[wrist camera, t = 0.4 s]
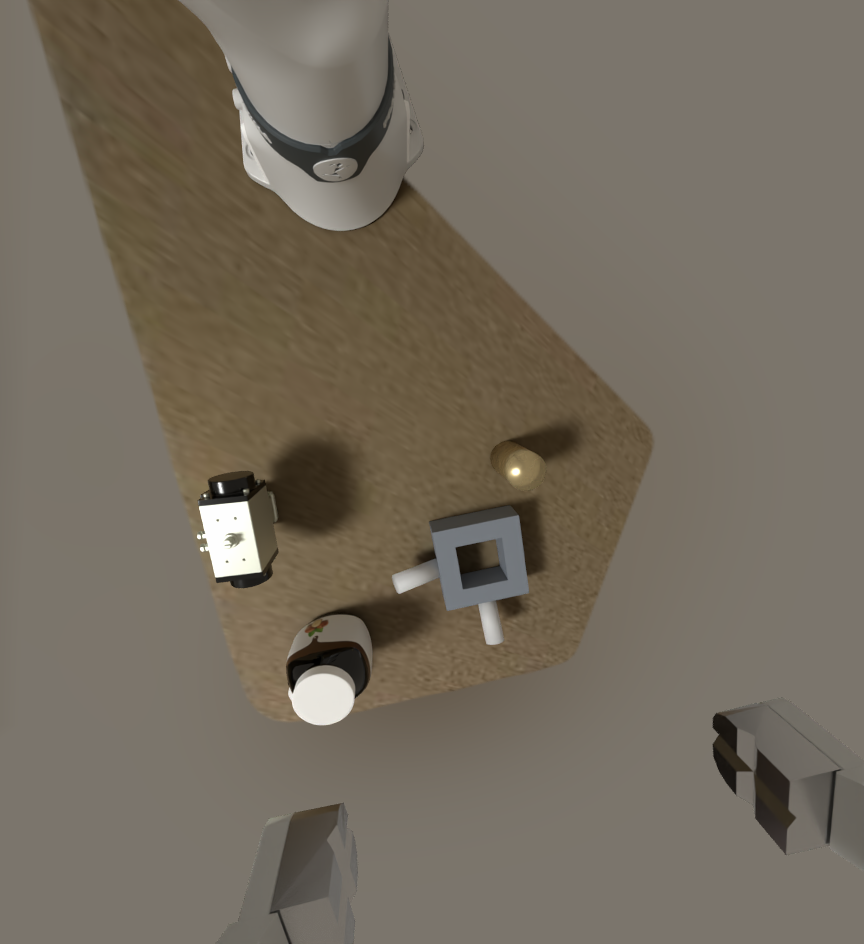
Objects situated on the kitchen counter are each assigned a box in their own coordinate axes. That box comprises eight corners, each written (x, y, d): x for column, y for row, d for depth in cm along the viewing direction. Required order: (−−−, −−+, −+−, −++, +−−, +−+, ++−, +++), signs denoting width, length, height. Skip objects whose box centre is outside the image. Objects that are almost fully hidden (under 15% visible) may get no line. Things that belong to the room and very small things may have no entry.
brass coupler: (488, 444, 53) (505, 456, 45) (521, 437, 53) (544, 448, 45) (492, 476, 54) (510, 494, 46) (525, 470, 54) (548, 486, 46)
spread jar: (365, 602, 56) (360, 660, 45) (383, 671, 59) (382, 741, 48) (278, 622, 56) (250, 686, 44) (300, 691, 58) (279, 767, 47)
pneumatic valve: (274, 458, 50) (240, 484, 39) (290, 547, 53) (262, 595, 42) (227, 463, 50) (178, 490, 38) (246, 552, 53) (206, 602, 41)
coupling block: (384, 530, 54) (383, 548, 48) (509, 505, 55) (523, 519, 49) (408, 641, 58) (410, 669, 53) (524, 615, 59) (538, 640, 54)
